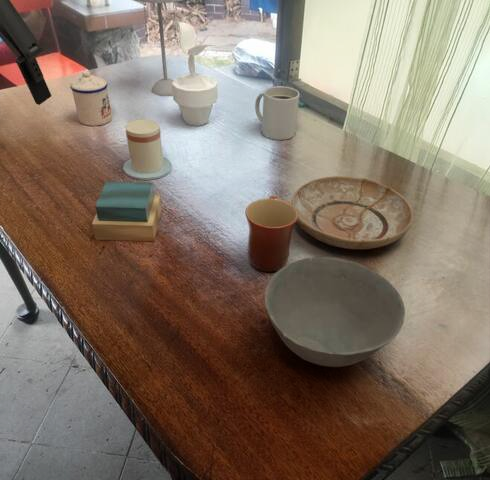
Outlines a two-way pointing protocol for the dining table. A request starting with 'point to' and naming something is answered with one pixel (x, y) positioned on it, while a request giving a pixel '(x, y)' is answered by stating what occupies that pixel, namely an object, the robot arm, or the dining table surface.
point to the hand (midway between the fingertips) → (14, 89)
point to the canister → (144, 146)
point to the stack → (127, 212)
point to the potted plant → (193, 81)
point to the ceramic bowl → (352, 212)
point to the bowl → (333, 310)
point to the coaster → (148, 176)
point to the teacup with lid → (91, 99)
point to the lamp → (165, 84)
